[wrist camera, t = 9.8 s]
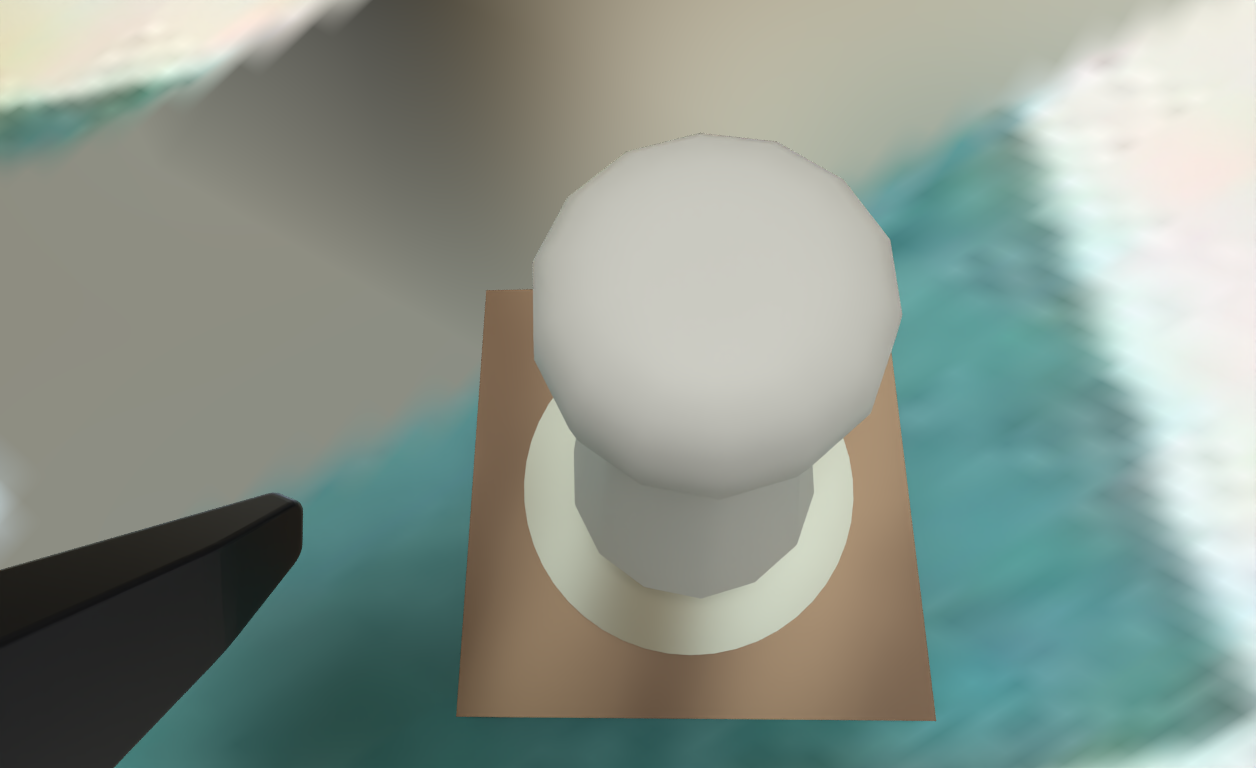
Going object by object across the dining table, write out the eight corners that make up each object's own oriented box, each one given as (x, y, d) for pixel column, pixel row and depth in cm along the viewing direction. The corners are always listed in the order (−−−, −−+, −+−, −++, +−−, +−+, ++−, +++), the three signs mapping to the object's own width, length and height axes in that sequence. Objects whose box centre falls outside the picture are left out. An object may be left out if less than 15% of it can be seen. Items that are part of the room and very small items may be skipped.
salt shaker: (808, 407, 20) (1018, 73, 8) (784, 619, 19) (1004, 601, 6) (604, 375, 21) (512, 19, 9) (563, 576, 19) (372, 485, 7)
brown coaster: (468, 711, 20) (454, 717, 18) (495, 306, 23) (484, 287, 22) (920, 715, 19) (939, 721, 18) (872, 298, 23) (884, 278, 22)
